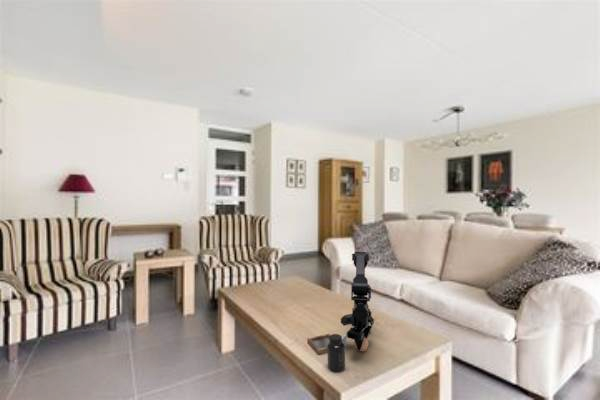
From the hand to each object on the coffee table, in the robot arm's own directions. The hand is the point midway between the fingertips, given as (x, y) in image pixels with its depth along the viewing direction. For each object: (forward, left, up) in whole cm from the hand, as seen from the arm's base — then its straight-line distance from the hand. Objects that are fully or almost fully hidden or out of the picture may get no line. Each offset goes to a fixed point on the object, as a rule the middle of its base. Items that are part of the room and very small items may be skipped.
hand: (361, 346), depth 121 cm
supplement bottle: (+16, +6, -2) cm, 17 cm away
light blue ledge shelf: (+9, -4, -2) cm, 10 cm away
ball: (0, 0, -2) cm, 2 cm away
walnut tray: (+13, -10, -2) cm, 16 cm away
